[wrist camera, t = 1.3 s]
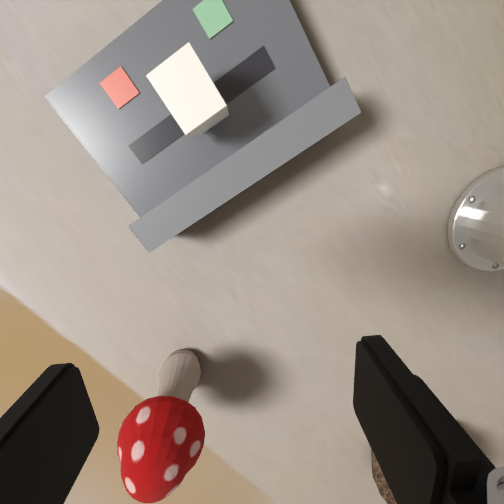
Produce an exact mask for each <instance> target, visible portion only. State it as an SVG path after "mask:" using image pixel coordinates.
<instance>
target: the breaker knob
mask: <svg viewBox="0 0 504 504" xmlns="http://www.w3.org/2000/svg"><path fill="white" fill-rule="evenodd" d="M146 77H147V78H148V80H149V81H150V83H151V84H152V86H153V87H154V89H155V90H156V92H157V93H158V95H159V96H160V98H161V99H162V101H163V102H164V104H165V105H166V107H167V108H168V110H169V111H170V113H171V114H172V116H173V117H174V119H175V120H176V122H177V123H178V125H179V126H180V128H181V129H182V131H183V132H184V134H185V135H186V136H188V137H190V138H192V139H194V140H195V139H196V138H197V137H199V136H200V135H202V134H203V133H204V132H206V131H207V130H209V129H210V128H211V127H213V126H214V125H216V124H217V123H218V122H220V121H221V120H223V119H224V118H225V117H227V116H228V115H229V113H228V109H227V105H226V103H225V102H224V100H223V98H222V97H221V95H220V93H219V92H218V90H217V88H216V87H215V85H214V83H213V82H212V80H211V78H210V77H209V75H208V73H207V72H206V70H205V68H204V66H203V65H202V63H201V61H200V60H199V58H198V56H197V55H196V53H195V51H194V50H193V48H192V46H191V45H190V43H189V42H188V43H187V44H186V45H184V46H183V47H182V48H180V49H179V50H178V51H177V52H175V53H174V54H173V55H171V56H170V57H169V58H168V59H166V60H165V61H164V62H162V63H161V64H160V65H159V66H157V67H156V68H155V69H153V70H152V71H151V72H150V73H148V74H147V75H146Z"/></svg>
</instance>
